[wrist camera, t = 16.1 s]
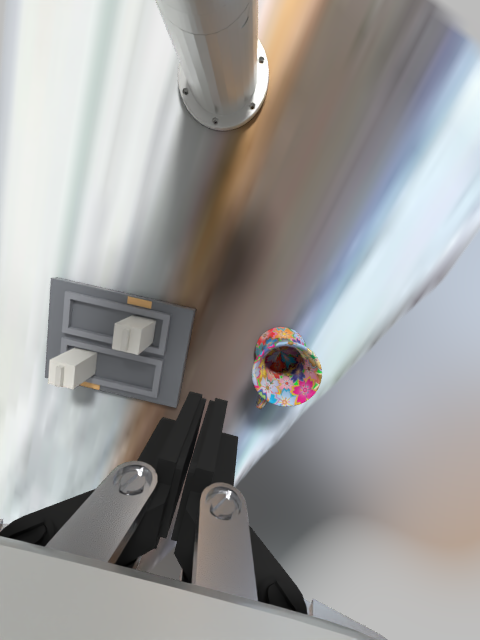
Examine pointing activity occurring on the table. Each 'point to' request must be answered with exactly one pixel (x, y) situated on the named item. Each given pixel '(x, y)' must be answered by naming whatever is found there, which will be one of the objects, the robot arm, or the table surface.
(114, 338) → the tab
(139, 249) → the table surface
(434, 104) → the table surface
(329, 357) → the table surface
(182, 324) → the switch bank
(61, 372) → the tab
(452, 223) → the table surface
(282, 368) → the mug
